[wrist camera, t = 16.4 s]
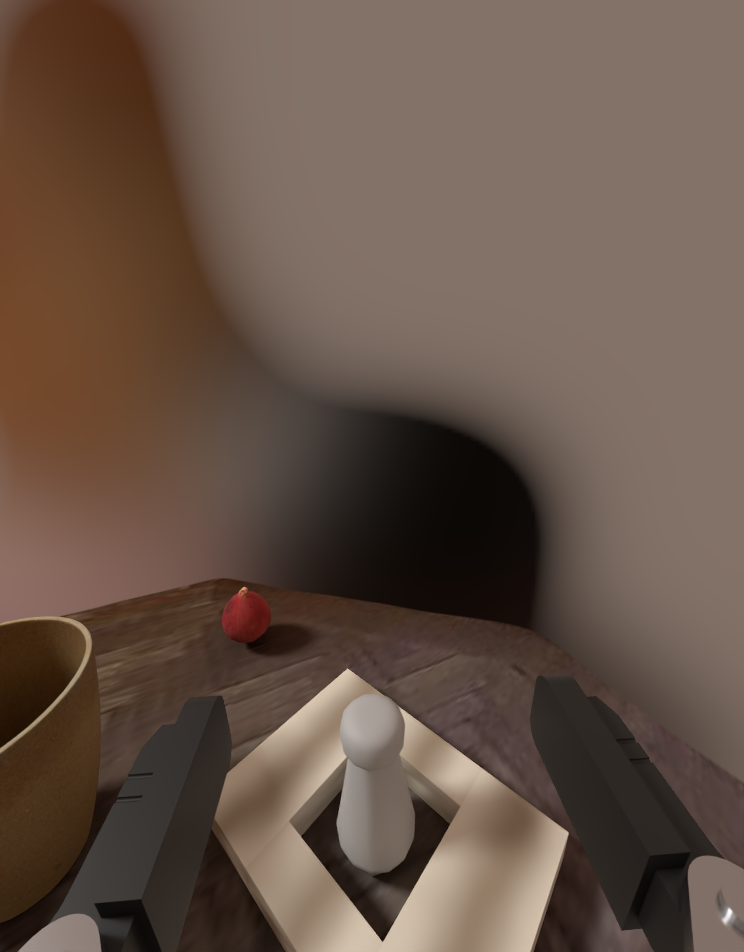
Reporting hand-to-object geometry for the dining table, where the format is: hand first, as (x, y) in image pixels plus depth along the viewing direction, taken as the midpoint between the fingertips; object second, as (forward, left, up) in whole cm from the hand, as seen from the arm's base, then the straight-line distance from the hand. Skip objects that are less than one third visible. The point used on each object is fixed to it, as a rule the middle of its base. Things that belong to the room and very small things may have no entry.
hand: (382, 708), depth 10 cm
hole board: (-8, +8, -27) cm, 29 cm away
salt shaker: (-8, +8, -27) cm, 29 cm away
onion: (-34, +13, -27) cm, 45 cm away
